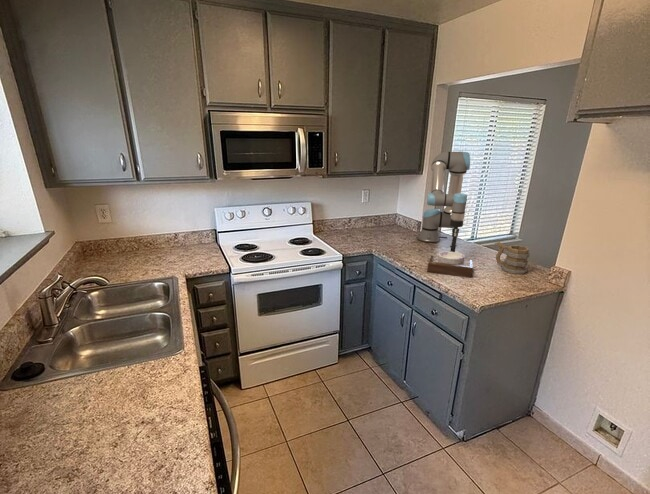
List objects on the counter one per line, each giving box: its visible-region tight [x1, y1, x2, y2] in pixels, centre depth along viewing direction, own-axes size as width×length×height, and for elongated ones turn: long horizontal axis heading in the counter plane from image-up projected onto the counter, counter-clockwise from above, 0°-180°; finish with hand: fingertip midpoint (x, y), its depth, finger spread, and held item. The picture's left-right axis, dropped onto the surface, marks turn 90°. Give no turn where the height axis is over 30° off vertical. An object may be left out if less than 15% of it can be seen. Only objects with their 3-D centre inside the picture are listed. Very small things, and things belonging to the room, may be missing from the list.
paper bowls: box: [437, 251, 466, 265], centre depth 215 cm, size 15×15×8 cm
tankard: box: [494, 241, 531, 275], centre depth 212 cm, size 20×13×15 cm, turn 42°
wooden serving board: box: [427, 255, 474, 279], centre depth 211 cm, size 17×24×6 cm
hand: (451, 256), depth 223 cm, fingers closed
